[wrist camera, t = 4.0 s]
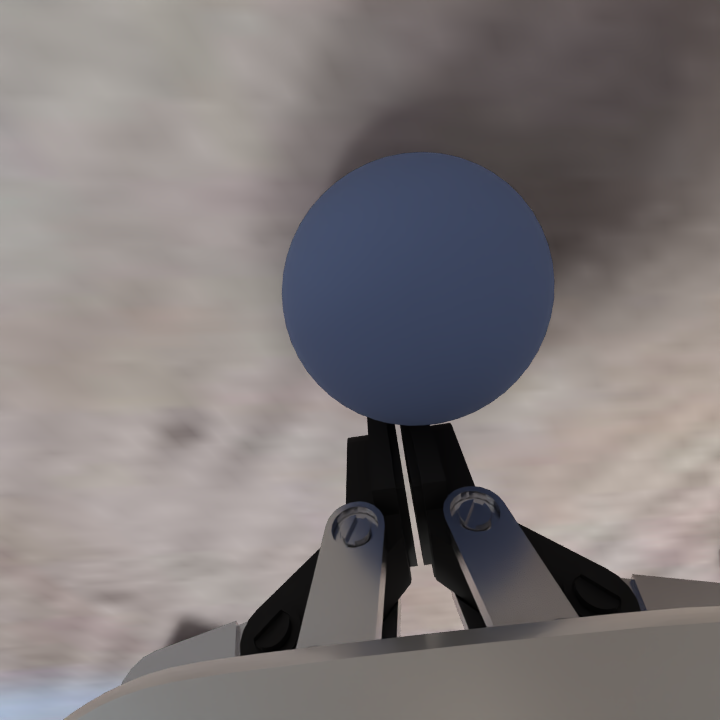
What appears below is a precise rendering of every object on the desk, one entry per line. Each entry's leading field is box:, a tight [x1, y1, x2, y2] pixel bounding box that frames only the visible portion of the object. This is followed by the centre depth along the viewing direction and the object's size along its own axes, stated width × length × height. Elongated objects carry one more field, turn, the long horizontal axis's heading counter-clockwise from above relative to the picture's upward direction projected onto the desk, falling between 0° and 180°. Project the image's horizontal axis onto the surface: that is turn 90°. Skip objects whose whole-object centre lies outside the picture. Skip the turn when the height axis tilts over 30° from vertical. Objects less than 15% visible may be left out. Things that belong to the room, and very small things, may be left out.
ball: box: [282, 152, 554, 426], centre depth 9 cm, size 6×6×6 cm
